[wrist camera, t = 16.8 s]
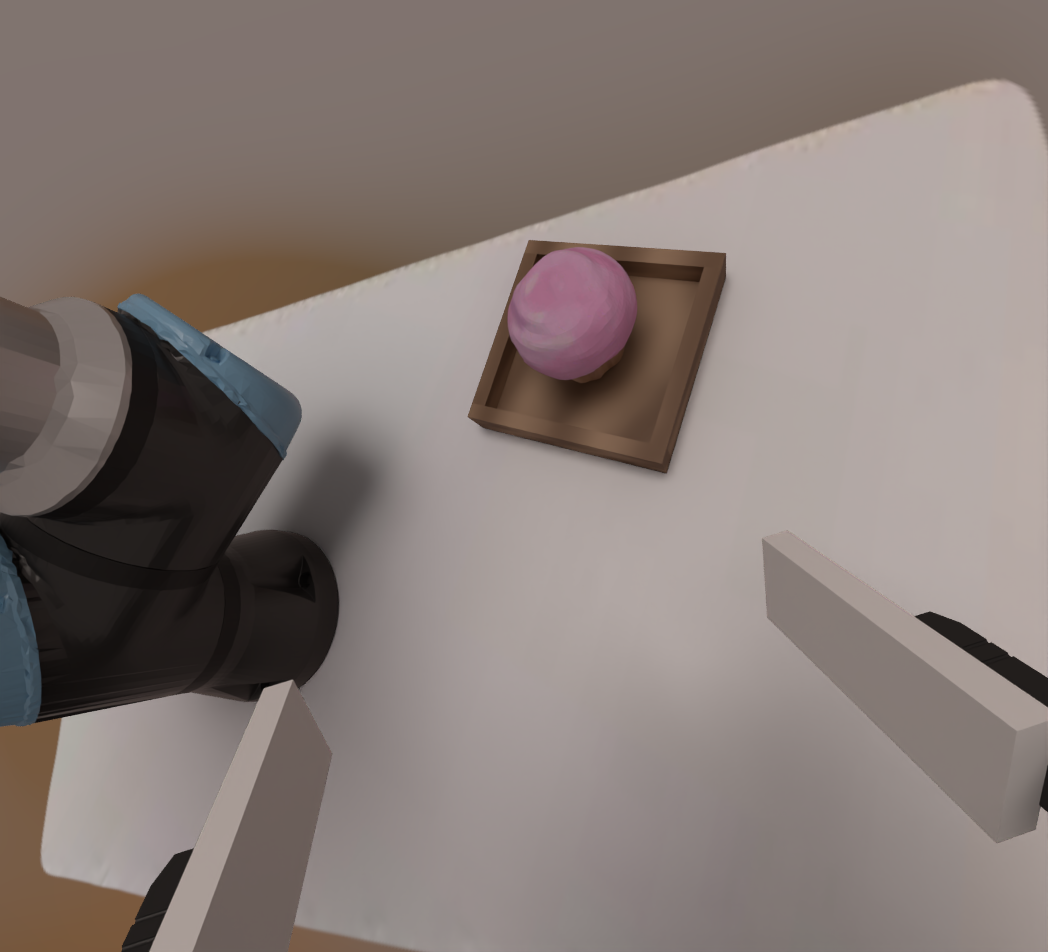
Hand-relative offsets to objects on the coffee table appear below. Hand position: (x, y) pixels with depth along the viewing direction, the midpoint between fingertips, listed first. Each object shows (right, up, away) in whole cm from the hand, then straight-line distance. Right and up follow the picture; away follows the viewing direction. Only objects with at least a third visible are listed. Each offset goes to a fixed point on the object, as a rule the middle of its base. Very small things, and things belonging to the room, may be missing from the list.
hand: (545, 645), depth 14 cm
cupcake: (+5, +14, +27) cm, 31 cm away
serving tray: (+5, +14, +28) cm, 31 cm away
